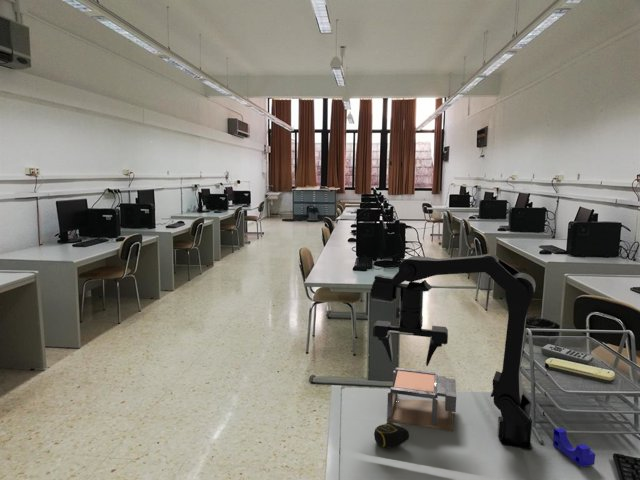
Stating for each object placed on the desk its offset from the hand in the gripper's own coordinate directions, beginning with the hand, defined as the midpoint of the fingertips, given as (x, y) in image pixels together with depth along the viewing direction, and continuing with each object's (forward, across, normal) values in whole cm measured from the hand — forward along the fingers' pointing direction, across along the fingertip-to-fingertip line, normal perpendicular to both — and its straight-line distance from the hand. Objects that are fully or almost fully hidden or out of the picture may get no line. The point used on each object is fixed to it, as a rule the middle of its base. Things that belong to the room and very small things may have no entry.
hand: (408, 363), depth 112 cm
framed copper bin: (+13, -4, 0) cm, 13 cm away
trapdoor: (+5, -7, 0) cm, 9 cm away
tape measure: (+13, -1, +16) cm, 20 cm away
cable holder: (+13, -37, +8) cm, 40 cm away
